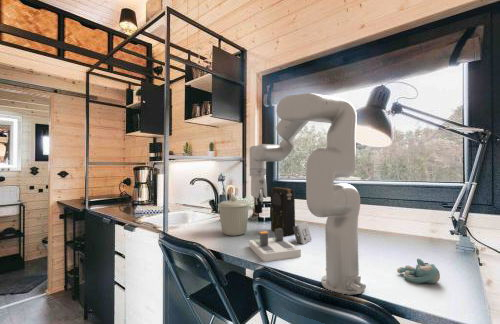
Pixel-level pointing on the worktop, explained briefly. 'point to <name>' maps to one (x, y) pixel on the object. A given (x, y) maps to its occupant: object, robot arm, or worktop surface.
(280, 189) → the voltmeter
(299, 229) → the electrical switch
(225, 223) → the canister
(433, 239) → the worktop surface
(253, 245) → the white slotted tray
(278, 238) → the block
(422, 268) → the stuffed animal
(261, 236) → the block
